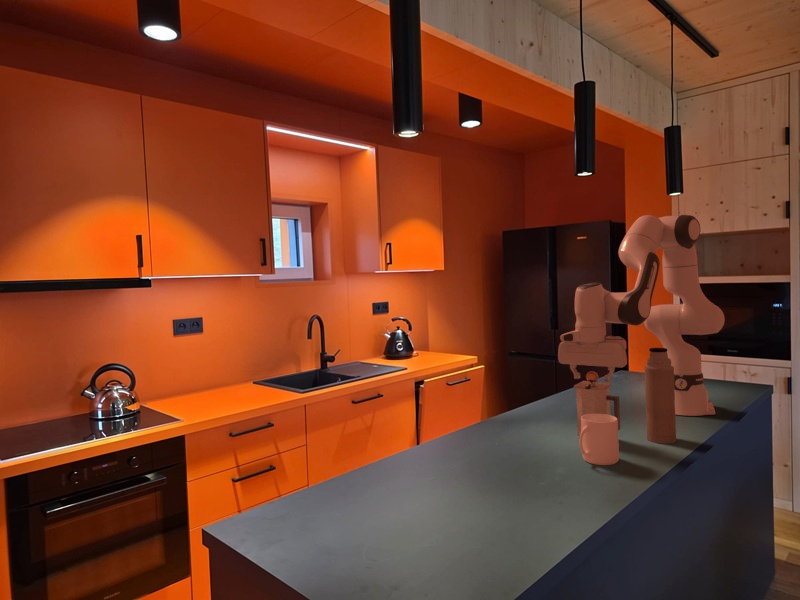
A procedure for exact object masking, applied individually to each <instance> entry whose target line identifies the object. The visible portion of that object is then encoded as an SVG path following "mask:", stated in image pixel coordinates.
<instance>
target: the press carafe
mask: <svg viewBox="0 0 800 600" xmlns="http://www.w3.org/2000/svg"><path fill="white" fill-rule="evenodd" d="M611 386H612V383H611V382H606V381H604V382H603V381H601V382H597V383H596V382H595V383H594V386H592V387H591V383H590V382H589V381H587V380H582V381H580V382H578V383H576V384H574V385H573V389H575V393H576V394H575V395H576V396H575V397H576V417H577V422H576V423H577V436H578V439H579V440H580V434H581V416H583V415H586V414H607V415H611V401H613V413H614V415H613V416H615V417H617V419H618V432H619V431H620V430H621V417H620V416H621V414H620V413H621V411H620V409H621V407H620V396H619V395H611V391H610V389H611V388H610V387H611Z"/></svg>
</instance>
